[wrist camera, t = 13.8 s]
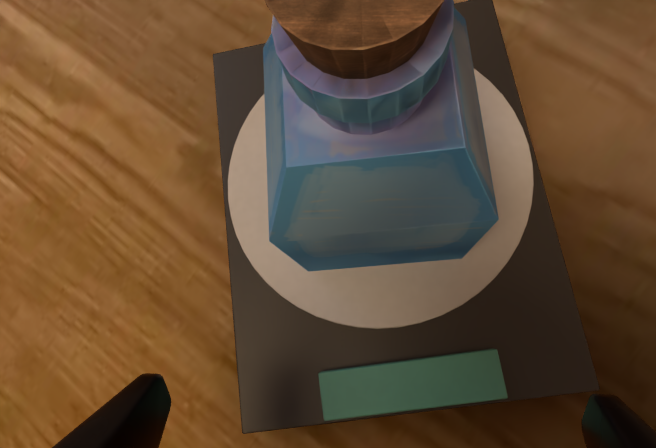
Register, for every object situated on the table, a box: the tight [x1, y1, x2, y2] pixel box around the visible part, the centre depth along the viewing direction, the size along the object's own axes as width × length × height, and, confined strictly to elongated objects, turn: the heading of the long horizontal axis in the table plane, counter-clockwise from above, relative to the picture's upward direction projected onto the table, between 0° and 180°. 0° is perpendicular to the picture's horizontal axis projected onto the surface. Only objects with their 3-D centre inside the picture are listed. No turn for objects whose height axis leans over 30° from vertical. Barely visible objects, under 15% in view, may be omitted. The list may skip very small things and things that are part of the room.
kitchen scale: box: [213, 0, 600, 434], centre depth 20 cm, size 18×14×3 cm
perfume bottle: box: [263, 0, 499, 272], centre depth 13 cm, size 6×6×12 cm
